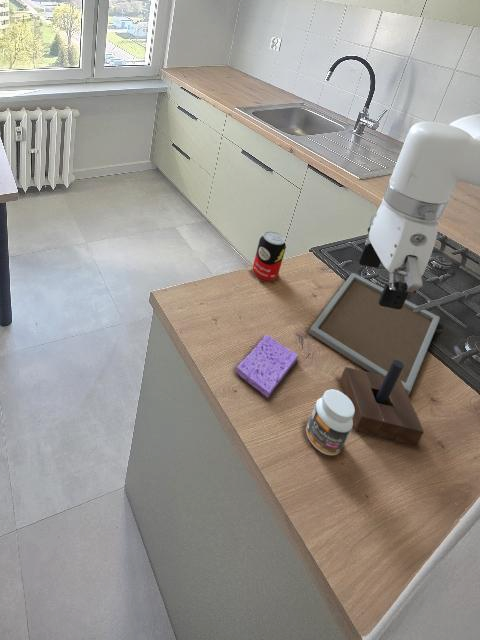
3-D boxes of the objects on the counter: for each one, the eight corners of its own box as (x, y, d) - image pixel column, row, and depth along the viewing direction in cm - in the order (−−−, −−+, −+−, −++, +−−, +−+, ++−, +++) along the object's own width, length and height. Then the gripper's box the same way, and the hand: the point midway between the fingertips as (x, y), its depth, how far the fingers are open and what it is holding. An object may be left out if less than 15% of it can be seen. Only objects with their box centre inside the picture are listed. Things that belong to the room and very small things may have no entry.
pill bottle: (303, 444, 72) (318, 408, 68) (307, 415, 77) (321, 379, 73) (340, 464, 70) (358, 427, 66) (341, 433, 74) (358, 397, 70)
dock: (393, 392, 82) (400, 379, 80) (416, 446, 73) (424, 431, 71) (339, 380, 84) (345, 366, 82) (355, 430, 75) (361, 416, 73)
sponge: (235, 372, 84) (236, 366, 83) (265, 338, 92) (267, 332, 91) (267, 399, 79) (269, 393, 79) (296, 360, 87) (298, 354, 87)
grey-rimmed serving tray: (309, 328, 93) (355, 267, 112) (308, 333, 94) (354, 272, 113) (410, 392, 80) (443, 311, 99) (407, 397, 81) (440, 316, 100)
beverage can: (249, 264, 114) (258, 228, 109) (273, 267, 113) (283, 231, 108) (254, 280, 108) (264, 244, 103) (279, 284, 107) (290, 247, 102)
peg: (378, 407, 79) (401, 360, 74) (381, 416, 78) (405, 368, 72) (369, 405, 79) (391, 358, 74) (372, 413, 78) (395, 366, 73)
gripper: (473, 239, 56) (426, 331, 63) (415, 177, 71) (383, 255, 78) (410, 229, 57) (371, 319, 64) (367, 170, 73) (339, 248, 80)
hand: (378, 284), depth 71 cm, fingers open, 9 cm apart
